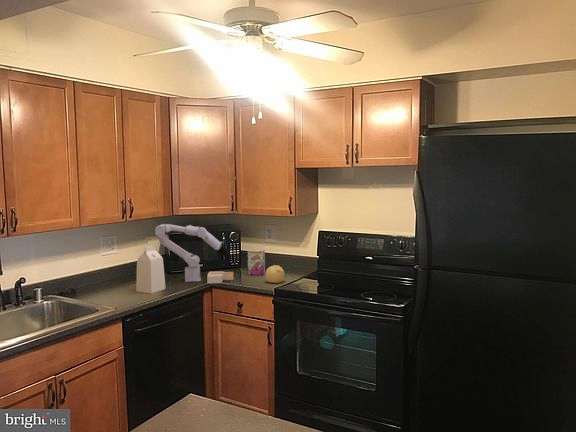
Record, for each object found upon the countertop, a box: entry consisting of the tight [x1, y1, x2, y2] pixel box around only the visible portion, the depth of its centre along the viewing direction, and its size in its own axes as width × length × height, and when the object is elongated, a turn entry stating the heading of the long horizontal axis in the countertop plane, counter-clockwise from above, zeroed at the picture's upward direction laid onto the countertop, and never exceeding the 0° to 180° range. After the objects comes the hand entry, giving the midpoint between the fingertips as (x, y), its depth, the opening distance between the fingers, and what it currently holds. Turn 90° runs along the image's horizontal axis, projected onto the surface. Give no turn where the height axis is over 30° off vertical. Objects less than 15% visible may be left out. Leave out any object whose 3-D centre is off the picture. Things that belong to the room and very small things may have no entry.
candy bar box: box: [247, 249, 266, 276], centre depth 314 cm, size 11×5×16 cm, turn 84°
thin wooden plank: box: [211, 271, 235, 281], centre depth 297 cm, size 14×1×5 cm, turn 95°
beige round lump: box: [264, 264, 285, 284], centre depth 291 cm, size 12×12×11 cm
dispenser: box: [206, 270, 225, 284], centre depth 297 cm, size 10×14×4 cm
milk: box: [135, 245, 166, 294], centre depth 274 cm, size 12×12×26 cm
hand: (228, 255), depth 298 cm, fingers open, 7 cm apart
